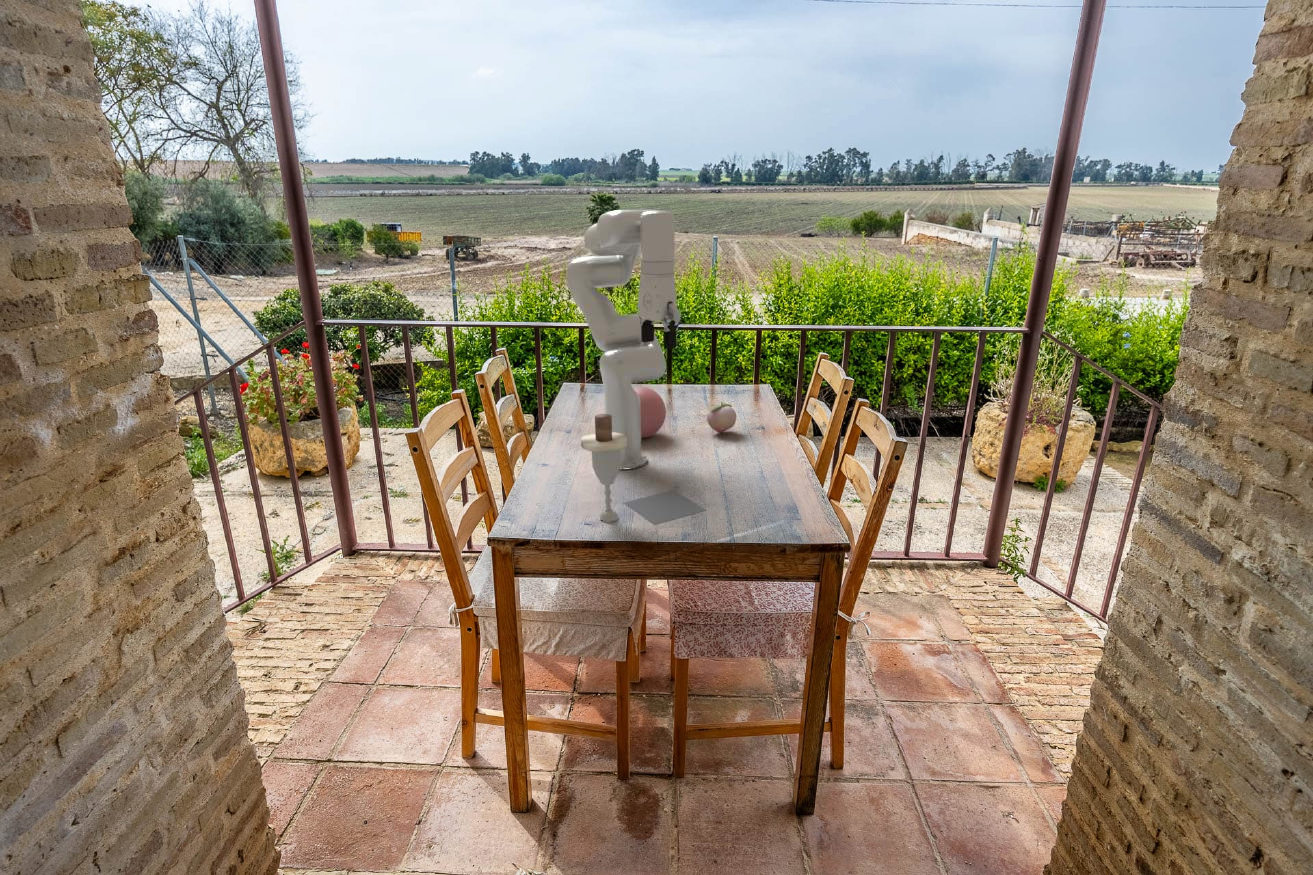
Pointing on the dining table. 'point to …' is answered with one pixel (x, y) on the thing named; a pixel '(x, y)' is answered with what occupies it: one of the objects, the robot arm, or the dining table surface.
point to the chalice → (607, 478)
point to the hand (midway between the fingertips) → (658, 345)
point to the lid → (603, 436)
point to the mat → (664, 507)
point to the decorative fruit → (721, 417)
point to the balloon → (650, 411)
